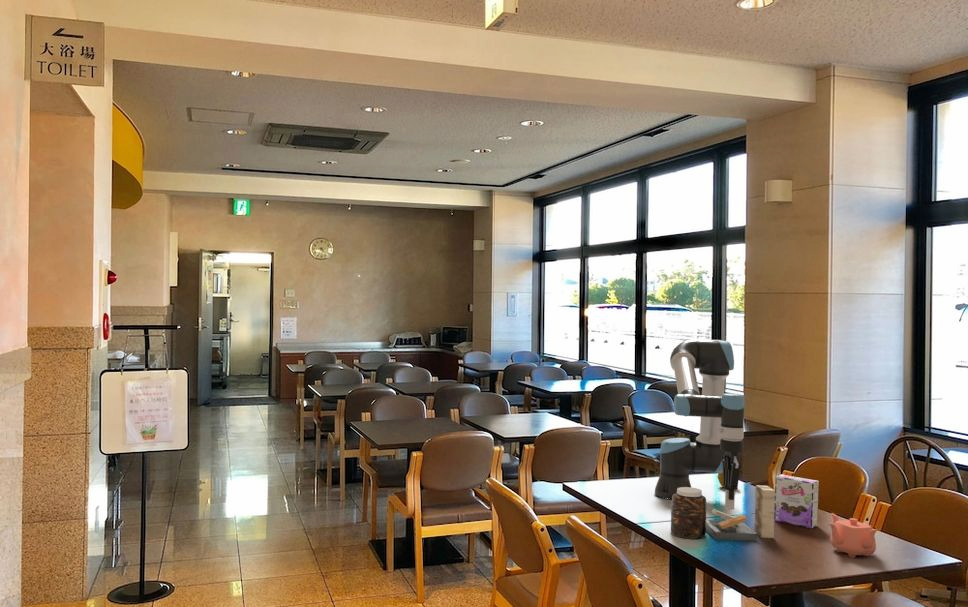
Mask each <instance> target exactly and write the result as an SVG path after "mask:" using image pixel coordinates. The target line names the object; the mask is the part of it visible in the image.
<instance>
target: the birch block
mask: <svg viewBox="0 0 968 607" xmlns="http://www.w3.org/2000/svg"><path fill="white" fill-rule="evenodd" d="M754 493H755V494H754V496H755V497H754V499H755V500H754V523H753V524H754V527H753V529H754V530H753V531H755V532H756V533H757V536H759V537H760V538H763V539H764V538H765V539H774V538H775V537H774V536H775V534H774V533H775V532H774V531H775V520H774V508H775V489H773V488H772V487H770V486H769V485H759V484H758V485H757V484H756V485H755V492H754Z"/></svg>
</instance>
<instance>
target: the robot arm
mask: <svg viewBox="0 0 968 607" xmlns="http://www.w3.org/2000/svg"><path fill="white" fill-rule="evenodd" d="M669 360H670V361H669V363H670V366H671V368H672V370H673V371H674V377H675V382H676V388H677V389H676V390H677V394H675V396H674V398H673V411H674V414H675V415H676V416H684V417H700V424H699V425H700V426H699V428H700V429H699V434H698V436H696V437H695V441H694V442H691V440H690V438H688V437H672V438H667V439H664V440H663V441H661V443H660V450H659V453H660V456H659V457H660V460H659V477H658V479H657V482H656V484H655V486H654V487H655V488H654V495H655V494H656V495H657V497H658V496H660V497H659V498H661V497H664V498H663V499H665V498H668V499H667V500H671V499H672V496H673V494H675V493H677V489H678V488H680V487H691V488H693V486H692V484H691V481H690V472H696V473H697V472H698V473H710V474H715V473H717V474H718V473H722V472H723V485H725V488H724V490H725V496H724V497H725V498H724V499H725V500H724V509H726V510H735V500H736V499H735V497H736V495H735V494H736V490H738V487H739V479H740V472H741V471H740V470H741V467H742V463H741V462H739V461H740V460H739V458H740V457H739V456H738V455H739V454H738V453H742V452H744V440H743V439H744V437H745V436H744V435H745V428H744V422H745V406H746V403H745V396H744V395H743V394H739V393H731V392H729V393H728V392H727V393H725V382H726V381H725V380H726V378H727V377H729V375H730V371H733V370H734V369H735V358H734V350H733V346H732V344H731V343H730V342H729V341H727V340H721V339H694V338H693V339H692V338H691V339H687V340H684V341H682V342H681V343H679V344H678V345H676V346H675V348H674V349H673V350H672V351H671V354H670V358H669ZM695 369H698V373H699V374H700V376H701V377H702V385H701V386H702V387H701V388H702V389H701V394H700V390H699V384H698V380H697V374H696V370H695ZM656 495H655V496H656Z"/></svg>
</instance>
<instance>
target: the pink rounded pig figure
mask: <svg viewBox="0 0 968 607" xmlns="http://www.w3.org/2000/svg"><path fill="white" fill-rule="evenodd" d="M830 514H831V516H832V520H833V523H830V522H828V523H827V524H828V525H829V526H830V527H831V533H830V544H831V546H832V547H833V548H834V549H836V550H835V552H837V553H846V554H848V555H847V556H848V558H852V557H855V558H856V556H862V555H863V557H866V556H869V557H870V555H874V553H875V551H876V549H877V545H876V543H877V542H876V537H875V535H876V532H878V531H879V529H874V528H873V526H872V525H870V524H868V523H864V522H860V521H859V519H857V518H854V517H853V518H852V517H850V518H849V519H844V520H842V519H841V520H840V519H839V517H838V515H837V514H835V513H834V512H831V513H830Z"/></svg>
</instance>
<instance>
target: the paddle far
mask: <svg viewBox="0 0 968 607" xmlns="http://www.w3.org/2000/svg"><path fill="white" fill-rule="evenodd" d="M711 513H712V514H714V515H715V516H718V517H720V518H722V519H727V520H728V519H731V518H734V517H735V516H732V515H730V514H727V513H725V512H723V511H720V510H718V509H715V508H712V510H711Z"/></svg>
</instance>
